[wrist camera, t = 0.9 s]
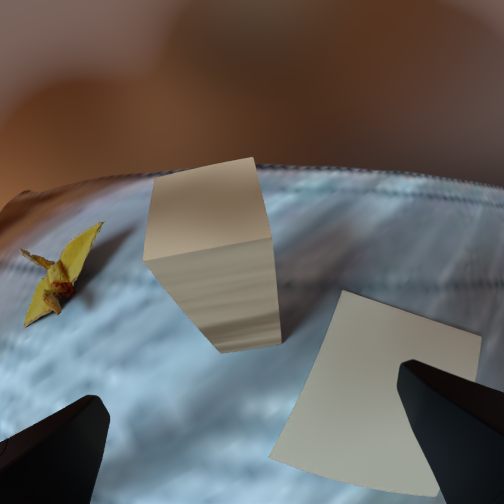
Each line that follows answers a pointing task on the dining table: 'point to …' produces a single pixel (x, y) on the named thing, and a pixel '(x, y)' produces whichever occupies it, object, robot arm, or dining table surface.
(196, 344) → the dining table surface
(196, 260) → the birch block
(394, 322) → the sage mat
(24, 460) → the robot arm
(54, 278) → the origami crane
